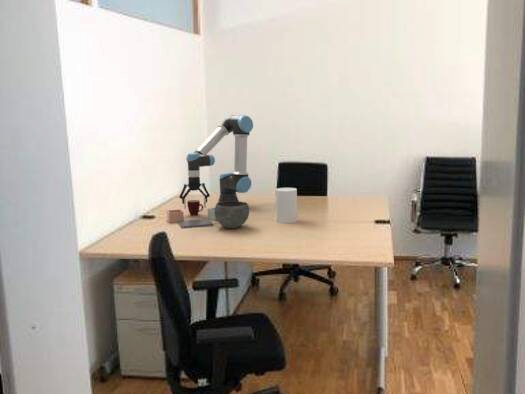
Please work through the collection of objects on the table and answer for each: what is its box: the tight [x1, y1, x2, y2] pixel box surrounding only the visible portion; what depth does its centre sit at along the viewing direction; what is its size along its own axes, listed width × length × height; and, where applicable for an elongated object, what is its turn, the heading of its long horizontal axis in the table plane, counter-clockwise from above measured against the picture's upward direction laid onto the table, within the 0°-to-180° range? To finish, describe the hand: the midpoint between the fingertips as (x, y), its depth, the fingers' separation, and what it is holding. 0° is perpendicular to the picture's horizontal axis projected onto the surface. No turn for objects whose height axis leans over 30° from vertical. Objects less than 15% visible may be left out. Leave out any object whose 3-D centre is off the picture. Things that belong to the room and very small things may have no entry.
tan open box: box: [166, 208, 185, 224], centre depth 370 cm, size 9×9×7 cm
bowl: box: [214, 201, 250, 229], centre depth 351 cm, size 21×21×15 cm
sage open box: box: [207, 207, 218, 222], centre depth 375 cm, size 8×8×7 cm
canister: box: [274, 187, 298, 224], centre depth 365 cm, size 14×14×20 cm
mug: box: [187, 199, 204, 216], centre depth 388 cm, size 10×8×10 cm
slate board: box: [176, 218, 214, 229], centre depth 363 cm, size 20×16×1 cm
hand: (194, 208), depth 388 cm, fingers open, 13 cm apart
